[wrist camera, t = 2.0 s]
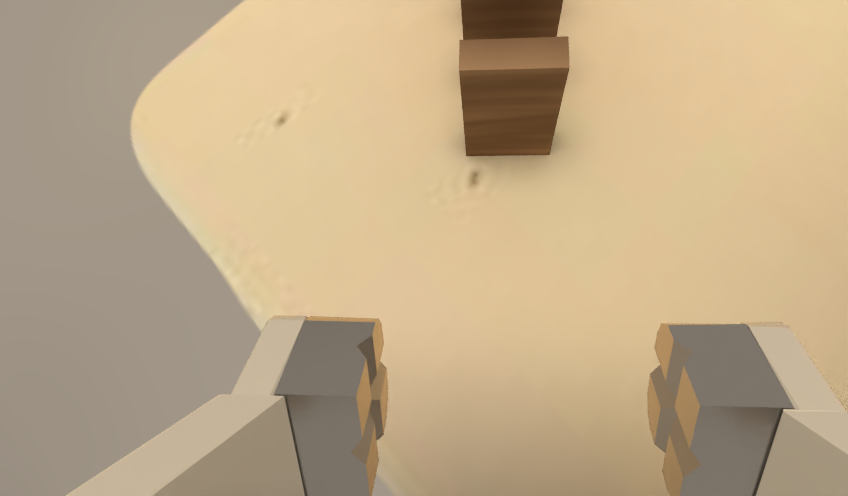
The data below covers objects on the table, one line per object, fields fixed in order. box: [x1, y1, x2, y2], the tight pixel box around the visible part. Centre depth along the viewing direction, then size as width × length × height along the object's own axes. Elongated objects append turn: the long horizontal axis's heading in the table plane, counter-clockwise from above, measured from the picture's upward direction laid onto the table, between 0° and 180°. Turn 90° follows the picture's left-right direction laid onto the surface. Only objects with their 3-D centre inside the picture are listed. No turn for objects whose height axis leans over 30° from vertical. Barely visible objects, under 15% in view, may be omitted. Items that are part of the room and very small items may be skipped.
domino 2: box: [459, 37, 569, 156], centre depth 34 cm, size 2×5×10 cm, turn 89°
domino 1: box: [461, 0, 563, 40], centre depth 35 cm, size 2×5×10 cm, turn 89°
